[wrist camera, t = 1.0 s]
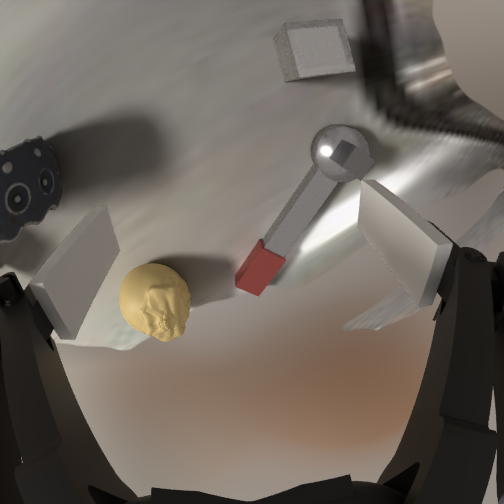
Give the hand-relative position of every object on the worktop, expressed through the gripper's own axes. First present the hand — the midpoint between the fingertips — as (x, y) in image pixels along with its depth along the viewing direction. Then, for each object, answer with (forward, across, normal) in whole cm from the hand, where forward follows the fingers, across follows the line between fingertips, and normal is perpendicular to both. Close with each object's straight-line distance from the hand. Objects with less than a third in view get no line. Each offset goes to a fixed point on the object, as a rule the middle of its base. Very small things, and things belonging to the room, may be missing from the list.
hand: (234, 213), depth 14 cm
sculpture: (+27, -15, -23) cm, 38 cm away
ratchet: (+27, +9, -12) cm, 30 cm away
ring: (+27, -33, 0) cm, 43 cm away
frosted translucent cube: (+27, +10, +11) cm, 31 cm away
